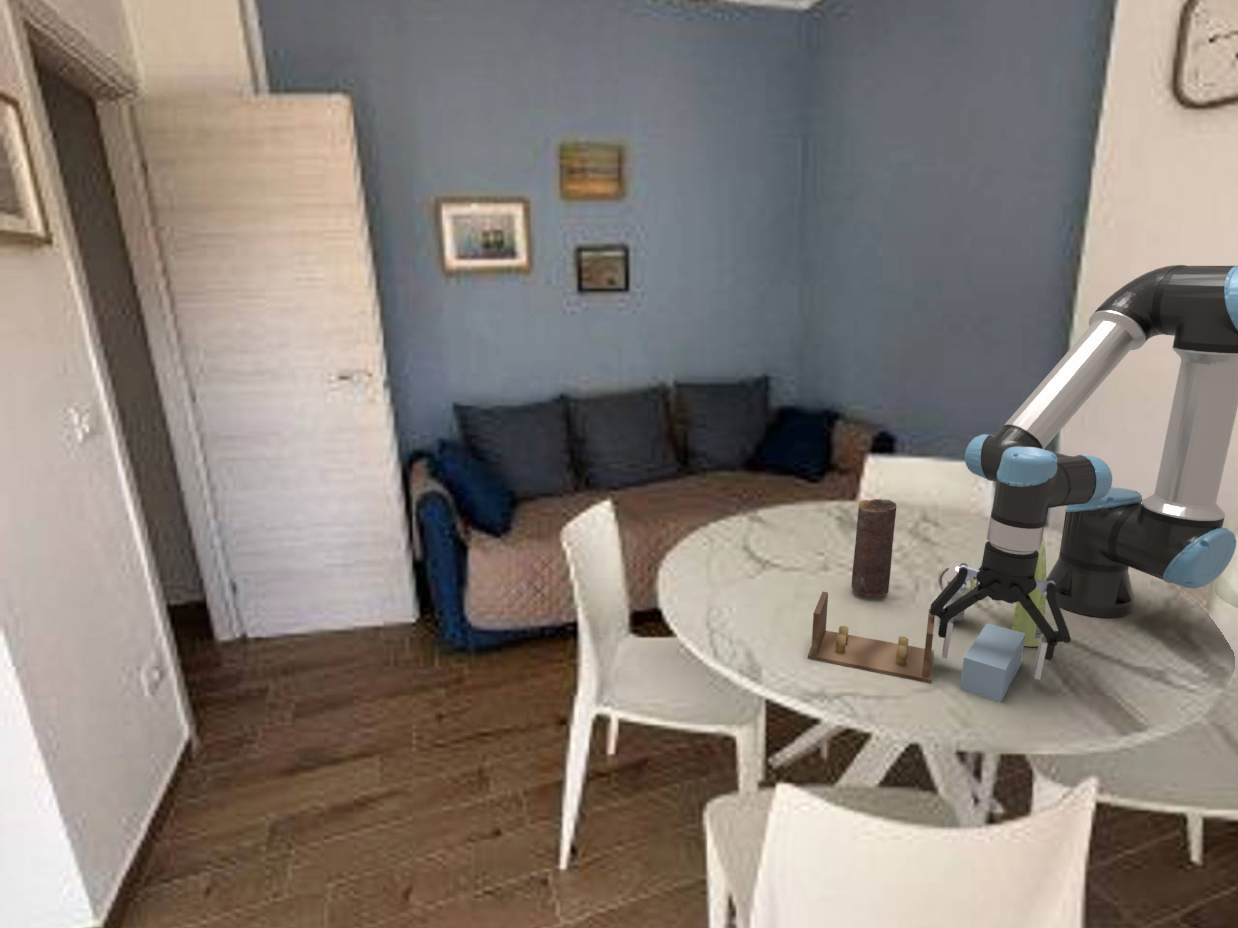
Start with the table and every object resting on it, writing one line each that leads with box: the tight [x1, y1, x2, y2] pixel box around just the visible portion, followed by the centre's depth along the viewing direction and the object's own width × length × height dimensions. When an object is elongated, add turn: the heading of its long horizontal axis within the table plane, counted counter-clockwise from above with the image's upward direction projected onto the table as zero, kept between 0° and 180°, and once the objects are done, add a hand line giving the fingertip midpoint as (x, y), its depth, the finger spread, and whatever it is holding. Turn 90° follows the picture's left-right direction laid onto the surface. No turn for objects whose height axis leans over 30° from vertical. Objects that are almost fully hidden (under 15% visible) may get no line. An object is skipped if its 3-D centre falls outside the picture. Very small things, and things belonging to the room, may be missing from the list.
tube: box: [1011, 535, 1047, 648], centre depth 130 cm, size 6×5×20 cm
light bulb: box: [937, 560, 980, 623], centre depth 138 cm, size 7×7×12 cm
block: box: [959, 622, 1026, 703], centre depth 121 cm, size 6×14×6 cm, turn 141°
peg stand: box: [807, 591, 936, 684], centre depth 127 cm, size 20×10×9 cm, turn 65°
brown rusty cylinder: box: [850, 498, 897, 598], centre depth 148 cm, size 8×7×20 cm
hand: (989, 664), depth 121 cm, fingers open, 13 cm apart
